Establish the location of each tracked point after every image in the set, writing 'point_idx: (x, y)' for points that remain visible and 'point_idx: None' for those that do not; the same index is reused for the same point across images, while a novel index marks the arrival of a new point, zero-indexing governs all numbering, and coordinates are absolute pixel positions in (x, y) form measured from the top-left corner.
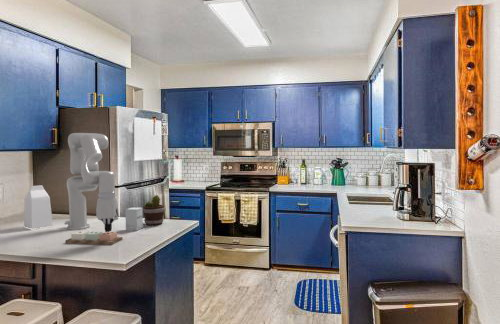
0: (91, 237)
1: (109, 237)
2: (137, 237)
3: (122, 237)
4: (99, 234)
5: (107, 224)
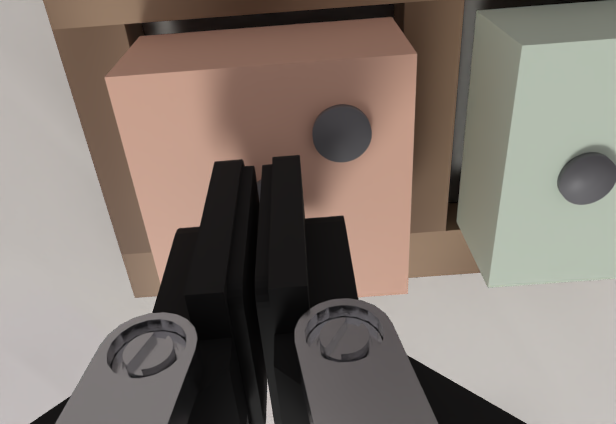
0: (611, 13)
1: (145, 55)
2: (42, 393)
3: (136, 292)
4: (492, 169)
5: (192, 287)
